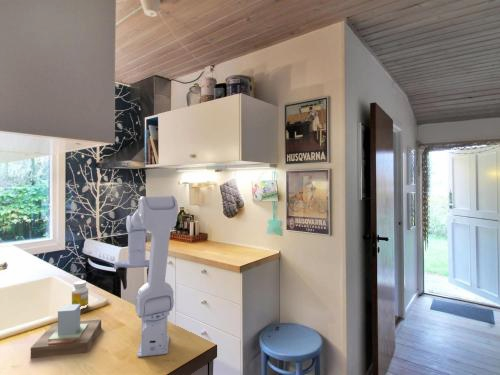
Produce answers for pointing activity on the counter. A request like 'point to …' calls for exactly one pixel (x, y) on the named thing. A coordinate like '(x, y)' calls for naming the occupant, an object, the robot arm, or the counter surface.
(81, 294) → the supplement bottle
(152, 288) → the robot arm
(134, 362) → the counter surface
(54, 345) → the walnut stand
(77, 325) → the slate block
